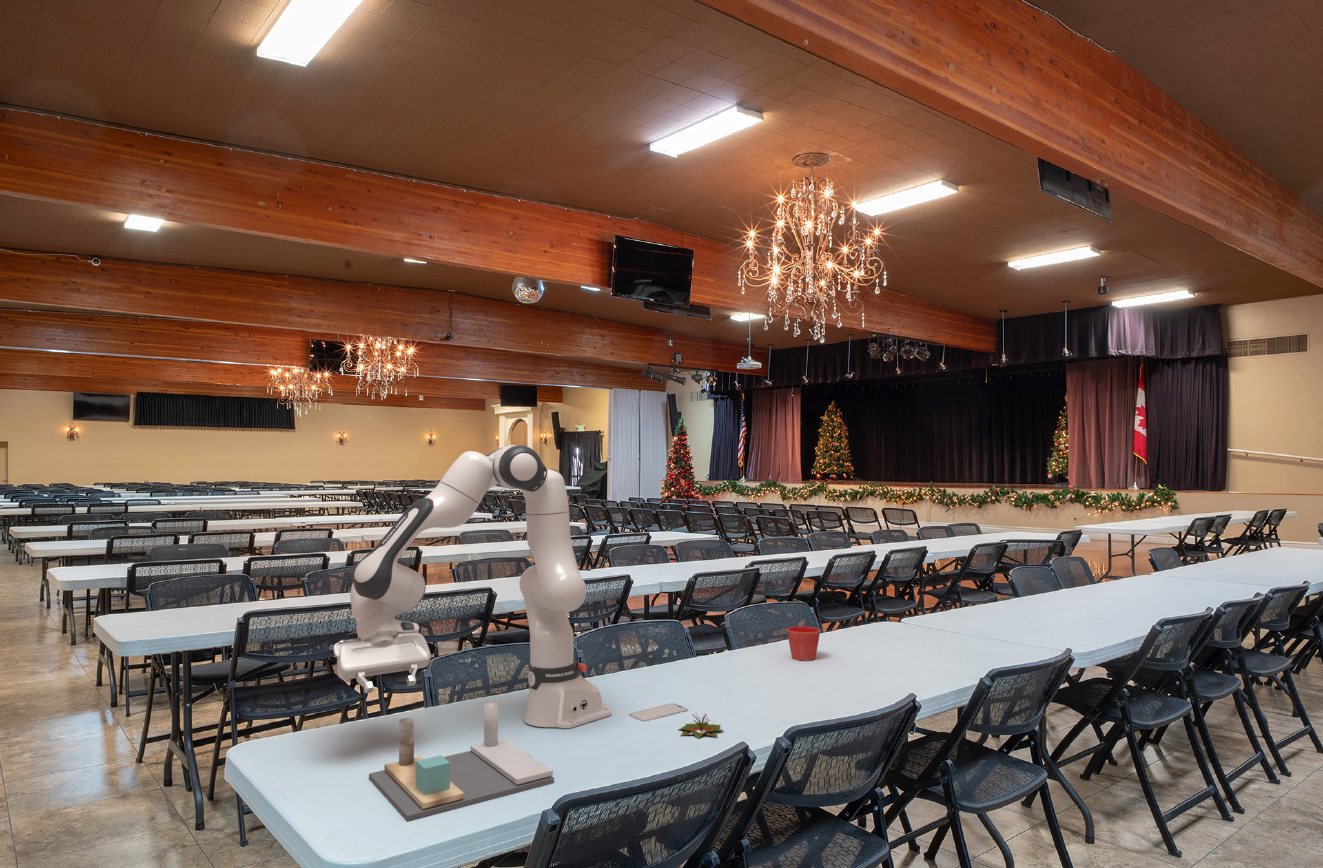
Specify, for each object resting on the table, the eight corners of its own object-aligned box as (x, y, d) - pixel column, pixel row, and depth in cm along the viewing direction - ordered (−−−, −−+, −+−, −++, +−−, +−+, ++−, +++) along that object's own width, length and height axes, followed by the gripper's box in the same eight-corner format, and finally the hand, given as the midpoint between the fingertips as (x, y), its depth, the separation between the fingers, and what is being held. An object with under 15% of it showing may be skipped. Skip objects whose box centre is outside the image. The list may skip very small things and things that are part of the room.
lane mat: (502, 747, 183) (502, 743, 183) (553, 782, 163) (553, 777, 163) (368, 778, 166) (368, 773, 166) (407, 821, 146) (407, 815, 146)
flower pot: (801, 653, 274) (800, 624, 275) (826, 658, 266) (826, 629, 266) (780, 657, 268) (780, 628, 268) (806, 663, 259) (805, 633, 260)
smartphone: (627, 714, 207) (672, 702, 216) (627, 716, 207) (672, 705, 216) (643, 721, 201) (689, 709, 211) (643, 723, 201) (689, 711, 210)
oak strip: (421, 761, 172) (422, 714, 172) (464, 798, 152) (464, 745, 153) (384, 769, 167) (384, 721, 168) (422, 808, 148) (423, 754, 148)
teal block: (440, 780, 159) (440, 755, 159) (449, 788, 154) (449, 762, 155) (415, 786, 156) (415, 760, 156) (424, 795, 152) (424, 768, 152)
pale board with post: (503, 742, 183) (503, 698, 183) (552, 775, 164) (552, 725, 164) (470, 750, 178) (470, 704, 179) (516, 784, 159) (516, 733, 159)
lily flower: (723, 742, 187) (722, 722, 188) (672, 740, 189) (672, 720, 190) (727, 725, 199) (727, 707, 199) (680, 723, 201) (680, 705, 201)
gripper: (334, 633, 178) (344, 687, 170) (424, 622, 190) (438, 672, 181) (329, 649, 181) (339, 703, 173) (418, 638, 193) (431, 688, 185)
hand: (391, 687), depth 177 cm, fingers open, 8 cm apart
